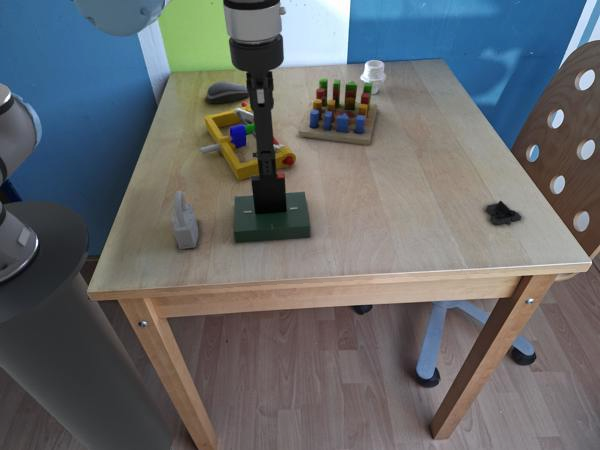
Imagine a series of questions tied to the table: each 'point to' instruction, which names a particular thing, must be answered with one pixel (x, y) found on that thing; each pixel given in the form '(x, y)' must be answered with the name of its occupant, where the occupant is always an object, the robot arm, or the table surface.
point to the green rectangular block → (271, 220)
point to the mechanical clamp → (241, 141)
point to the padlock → (184, 223)
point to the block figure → (502, 214)
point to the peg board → (340, 115)
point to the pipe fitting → (374, 74)
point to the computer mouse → (226, 92)
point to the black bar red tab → (269, 196)
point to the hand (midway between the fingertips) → (267, 162)
